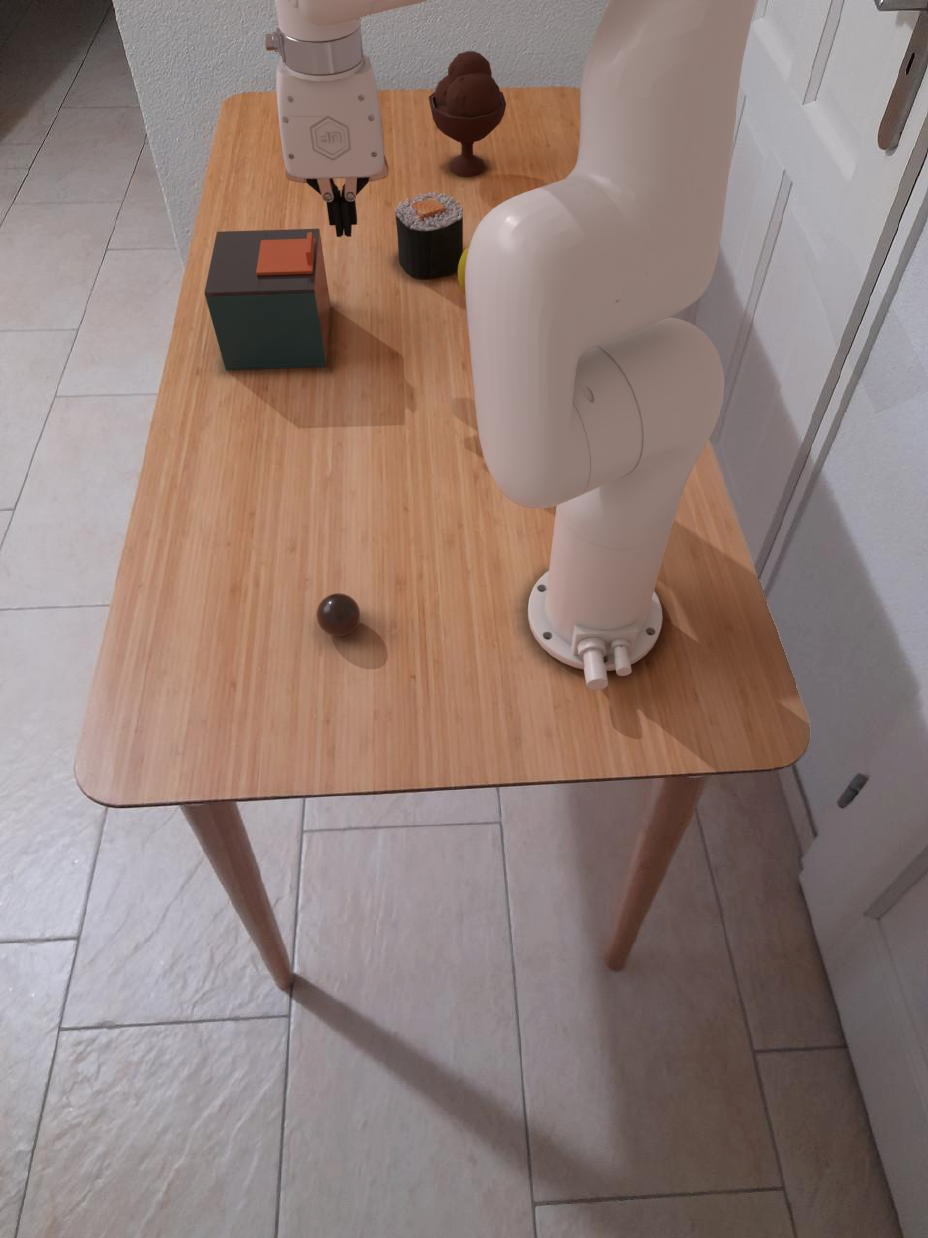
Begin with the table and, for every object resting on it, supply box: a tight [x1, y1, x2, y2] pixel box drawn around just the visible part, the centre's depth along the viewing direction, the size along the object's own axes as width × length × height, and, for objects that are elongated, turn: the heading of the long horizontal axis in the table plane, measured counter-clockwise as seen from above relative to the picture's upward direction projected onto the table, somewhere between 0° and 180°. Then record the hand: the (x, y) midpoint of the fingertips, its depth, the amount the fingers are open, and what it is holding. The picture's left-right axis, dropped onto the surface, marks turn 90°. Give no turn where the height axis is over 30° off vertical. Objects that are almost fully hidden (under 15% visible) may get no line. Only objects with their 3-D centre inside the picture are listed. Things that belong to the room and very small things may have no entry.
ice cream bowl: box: [428, 50, 507, 178], centre depth 125 cm, size 11×11×15 cm
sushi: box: [393, 191, 464, 281], centre depth 114 cm, size 8×8×8 cm
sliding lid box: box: [203, 228, 332, 371], centre depth 104 cm, size 12×12×10 cm
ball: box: [316, 592, 361, 637], centre depth 82 cm, size 4×4×4 cm
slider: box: [256, 232, 315, 276], centre depth 99 cm, size 6×6×2 cm
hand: (344, 229), depth 97 cm, fingers closed
